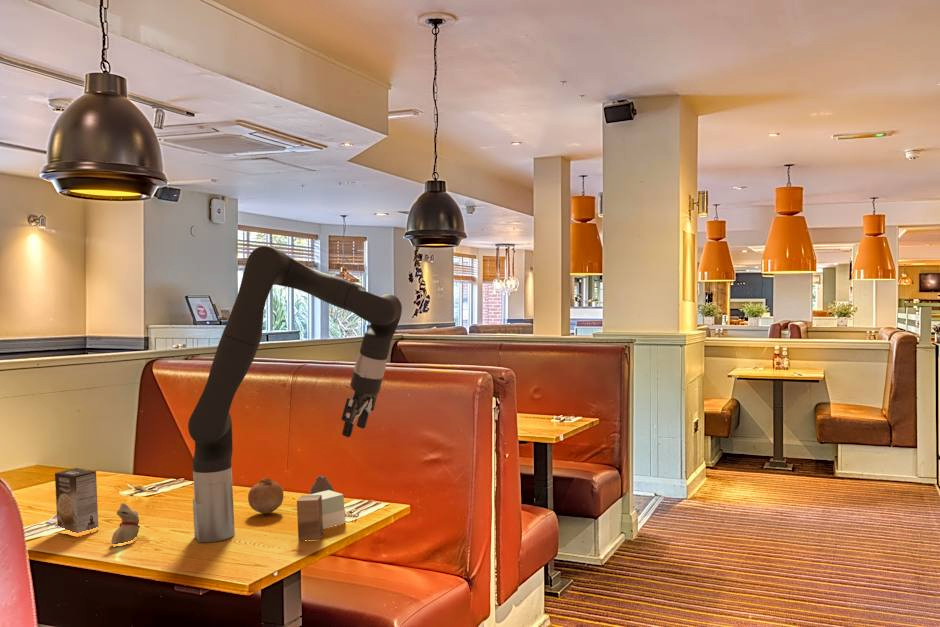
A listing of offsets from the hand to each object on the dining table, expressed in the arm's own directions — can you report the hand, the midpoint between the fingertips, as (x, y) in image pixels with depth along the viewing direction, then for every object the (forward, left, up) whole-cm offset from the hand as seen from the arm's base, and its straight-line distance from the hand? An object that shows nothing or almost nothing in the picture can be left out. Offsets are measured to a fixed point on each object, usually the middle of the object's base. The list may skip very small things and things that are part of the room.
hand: (353, 431), depth 199 cm
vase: (-1, +24, -25) cm, 35 cm away
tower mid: (-6, +8, -21) cm, 23 cm away
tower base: (-5, +8, -25) cm, 27 cm away
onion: (-16, +27, -25) cm, 41 cm away
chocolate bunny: (-52, +23, -25) cm, 63 cm away
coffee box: (-62, +40, -25) cm, 78 cm away
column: (-12, -1, -25) cm, 28 cm away
